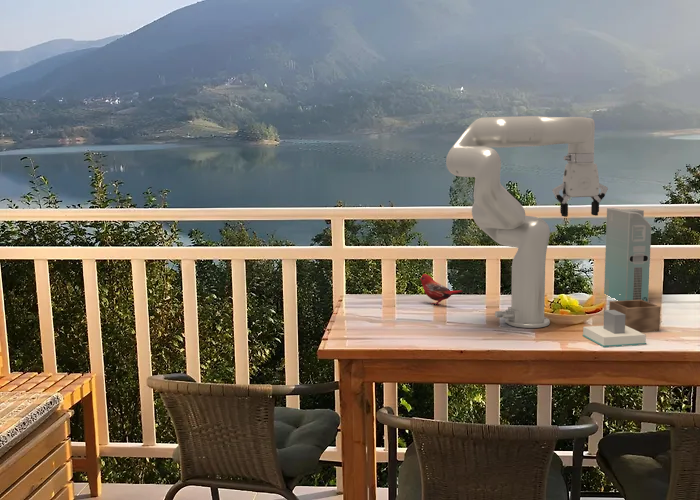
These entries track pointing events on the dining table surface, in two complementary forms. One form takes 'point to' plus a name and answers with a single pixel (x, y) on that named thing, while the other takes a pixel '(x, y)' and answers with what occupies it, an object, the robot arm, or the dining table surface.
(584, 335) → the mat
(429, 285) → the decorative bird figurine
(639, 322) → the box
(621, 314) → the lid
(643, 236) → the device
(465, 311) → the dining table surface
